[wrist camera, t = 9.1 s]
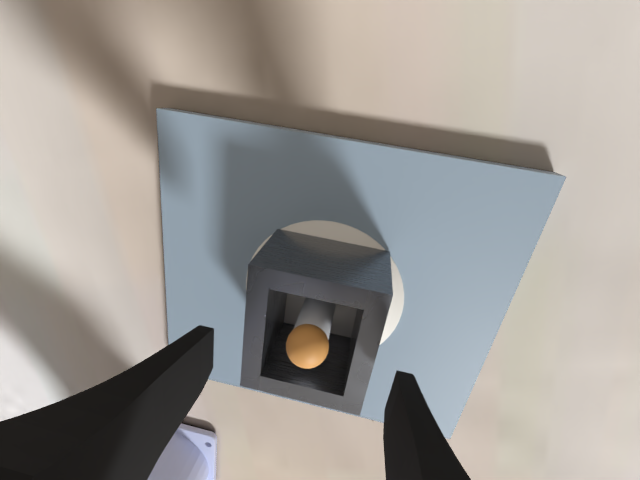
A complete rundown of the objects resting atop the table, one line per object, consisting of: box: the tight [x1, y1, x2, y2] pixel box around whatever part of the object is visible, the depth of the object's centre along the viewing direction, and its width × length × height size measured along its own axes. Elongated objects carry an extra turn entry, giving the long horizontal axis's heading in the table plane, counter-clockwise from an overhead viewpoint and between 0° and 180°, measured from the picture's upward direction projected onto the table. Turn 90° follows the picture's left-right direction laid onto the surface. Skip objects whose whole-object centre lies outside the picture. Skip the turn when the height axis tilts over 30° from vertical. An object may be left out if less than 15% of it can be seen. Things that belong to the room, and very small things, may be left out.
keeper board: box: [156, 108, 566, 439], centre depth 16 cm, size 16×18×6 cm
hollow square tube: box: [240, 229, 393, 416], centre depth 16 cm, size 6×6×4 cm
